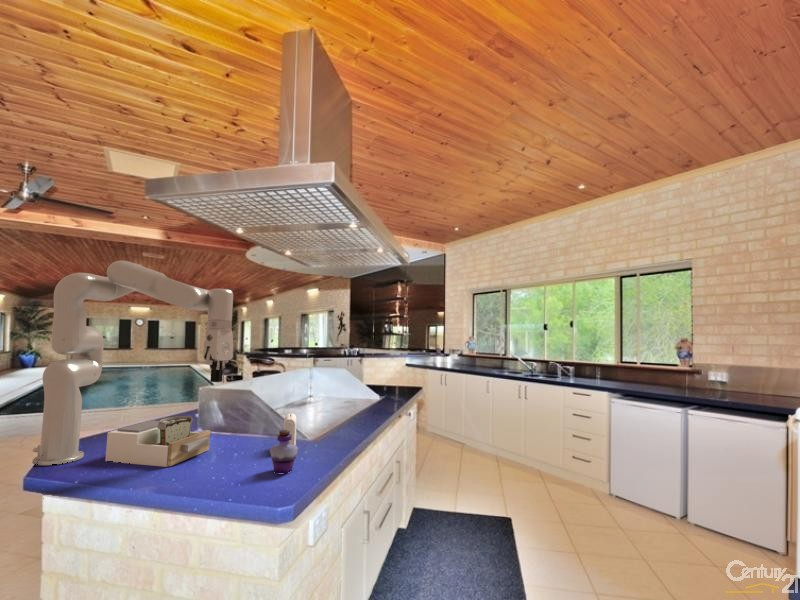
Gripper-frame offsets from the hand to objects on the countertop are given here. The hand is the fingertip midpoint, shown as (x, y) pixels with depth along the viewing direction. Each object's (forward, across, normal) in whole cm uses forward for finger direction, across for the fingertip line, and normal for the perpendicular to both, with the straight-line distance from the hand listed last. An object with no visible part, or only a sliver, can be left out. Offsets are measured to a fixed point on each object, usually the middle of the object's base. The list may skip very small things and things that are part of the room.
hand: (216, 381), depth 135 cm
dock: (+25, 0, +20) cm, 32 cm away
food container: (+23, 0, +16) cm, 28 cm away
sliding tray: (+25, 0, +12) cm, 28 cm away
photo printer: (+25, +18, -18) cm, 36 cm away
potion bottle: (+25, -4, -27) cm, 37 cm away
